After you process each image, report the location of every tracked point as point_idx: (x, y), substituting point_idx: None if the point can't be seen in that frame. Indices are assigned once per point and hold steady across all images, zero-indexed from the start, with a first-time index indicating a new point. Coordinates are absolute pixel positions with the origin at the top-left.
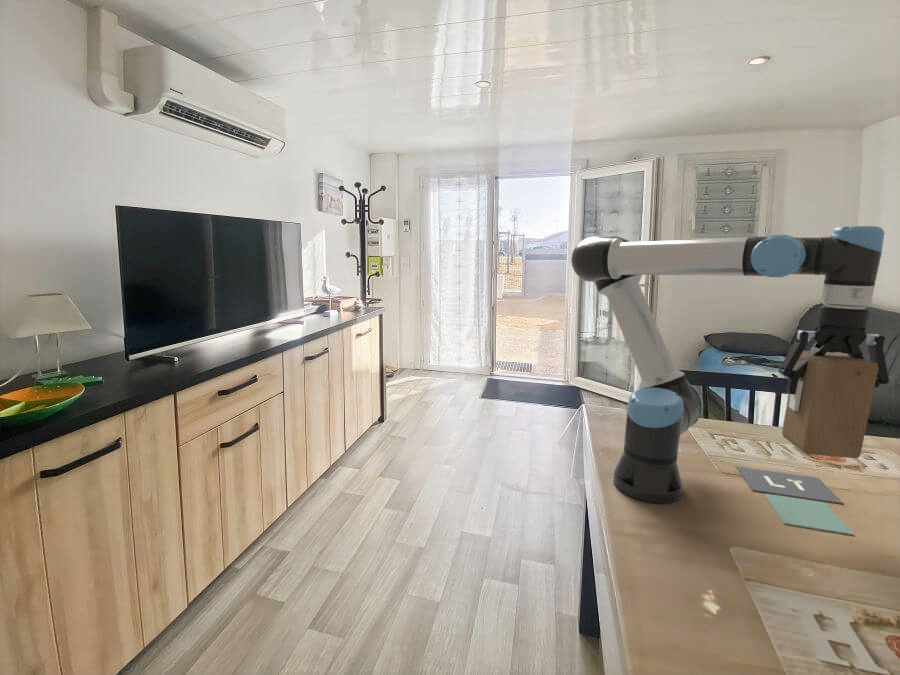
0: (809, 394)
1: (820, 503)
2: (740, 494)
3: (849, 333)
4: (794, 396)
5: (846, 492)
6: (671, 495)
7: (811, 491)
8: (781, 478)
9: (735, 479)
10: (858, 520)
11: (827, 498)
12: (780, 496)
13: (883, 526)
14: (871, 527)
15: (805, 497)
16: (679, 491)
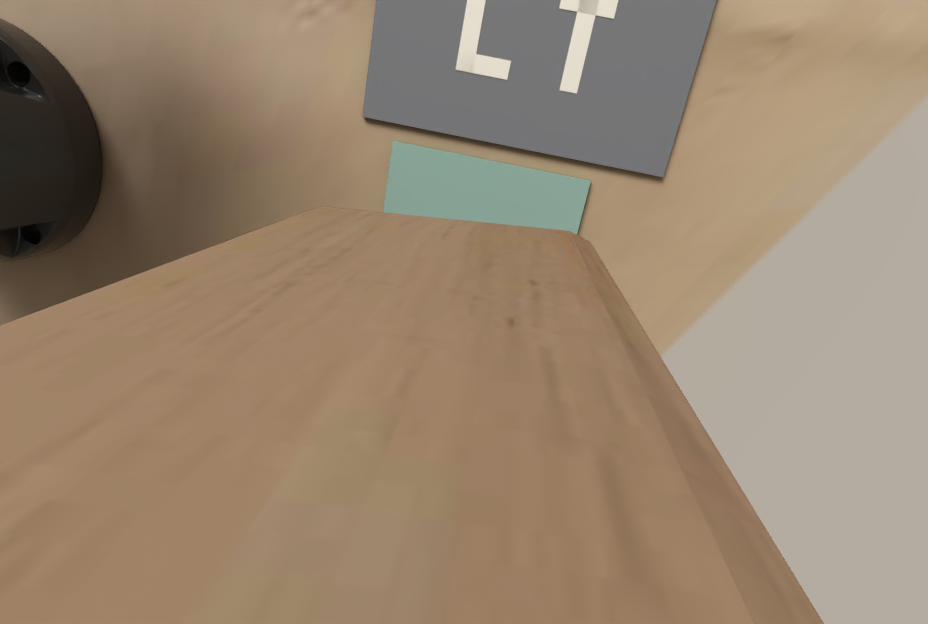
0: None
1: (568, 191)
2: (309, 152)
3: None
4: None
5: (760, 70)
6: (38, 252)
7: (598, 97)
8: None
9: (338, 19)
10: (628, 278)
11: (624, 149)
12: (445, 157)
13: (684, 304)
14: (637, 314)
15: (540, 151)
16: (63, 226)
